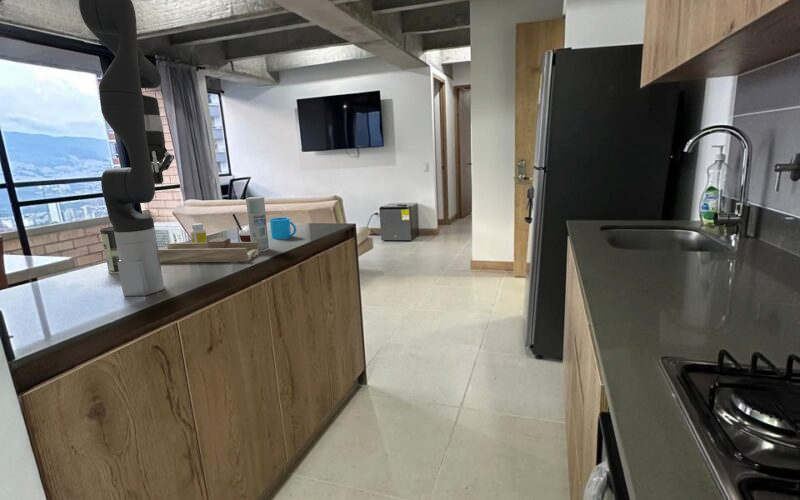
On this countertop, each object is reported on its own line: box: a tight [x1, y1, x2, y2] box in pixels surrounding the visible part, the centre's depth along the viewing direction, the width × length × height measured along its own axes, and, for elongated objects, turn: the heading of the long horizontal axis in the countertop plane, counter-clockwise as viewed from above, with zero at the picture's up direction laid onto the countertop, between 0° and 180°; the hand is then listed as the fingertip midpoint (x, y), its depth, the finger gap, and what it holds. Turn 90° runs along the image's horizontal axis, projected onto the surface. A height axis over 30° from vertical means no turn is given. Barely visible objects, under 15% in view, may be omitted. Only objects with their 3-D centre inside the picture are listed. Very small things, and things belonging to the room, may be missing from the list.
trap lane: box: [158, 241, 260, 264], centre depth 150 cm, size 11×34×4 cm, turn 87°
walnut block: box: [207, 237, 231, 249], centre depth 150 cm, size 6×6×4 cm
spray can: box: [245, 196, 270, 253], centre depth 159 cm, size 6×6×20 cm
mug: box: [269, 217, 297, 240], centre depth 183 cm, size 12×8×8 cm
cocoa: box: [232, 213, 251, 242], centre depth 175 cm, size 10×6×12 cm, turn 69°
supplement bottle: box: [190, 223, 208, 243], centre depth 166 cm, size 5×5×10 cm
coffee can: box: [99, 226, 120, 275], centre depth 137 cm, size 10×10×14 cm
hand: (158, 183), depth 142 cm, fingers closed
